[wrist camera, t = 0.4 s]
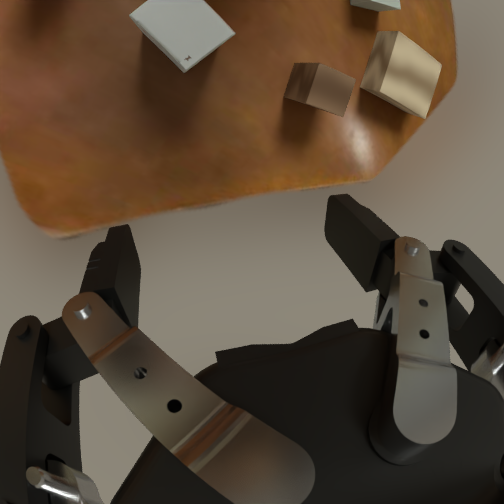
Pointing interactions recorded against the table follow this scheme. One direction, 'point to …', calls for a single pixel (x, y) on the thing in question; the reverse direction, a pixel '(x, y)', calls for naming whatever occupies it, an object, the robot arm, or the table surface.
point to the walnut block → (320, 87)
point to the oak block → (401, 73)
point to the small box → (182, 29)
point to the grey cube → (377, 4)
